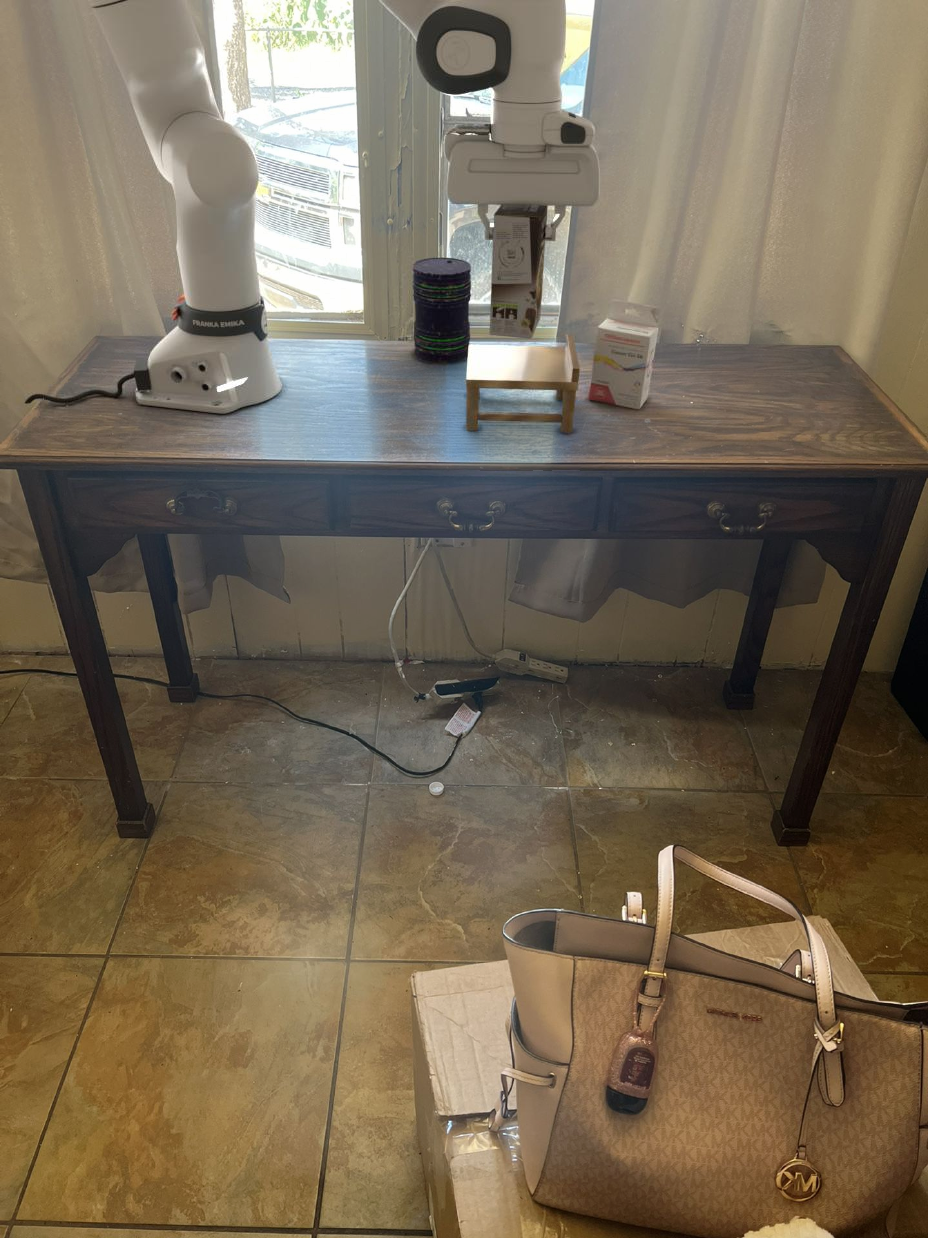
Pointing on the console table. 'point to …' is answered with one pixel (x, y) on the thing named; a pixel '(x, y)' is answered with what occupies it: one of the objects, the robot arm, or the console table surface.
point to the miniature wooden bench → (522, 379)
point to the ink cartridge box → (624, 355)
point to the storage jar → (441, 309)
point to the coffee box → (517, 270)
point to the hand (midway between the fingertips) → (520, 239)
